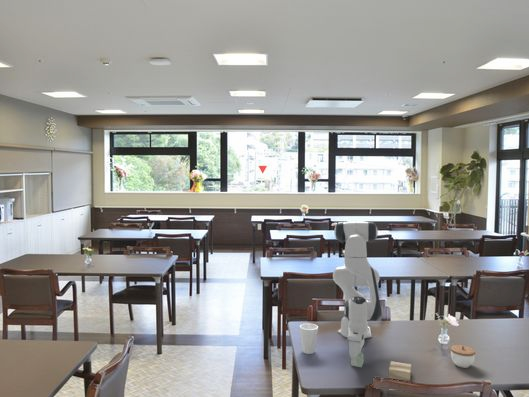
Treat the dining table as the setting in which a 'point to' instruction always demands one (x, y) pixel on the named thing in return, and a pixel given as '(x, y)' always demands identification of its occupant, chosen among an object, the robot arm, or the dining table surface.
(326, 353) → the dining table surface
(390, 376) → the oak base
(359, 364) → the green cube
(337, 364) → the dining table surface
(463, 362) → the lidded jar
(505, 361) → the dining table surface
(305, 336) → the foam cup
